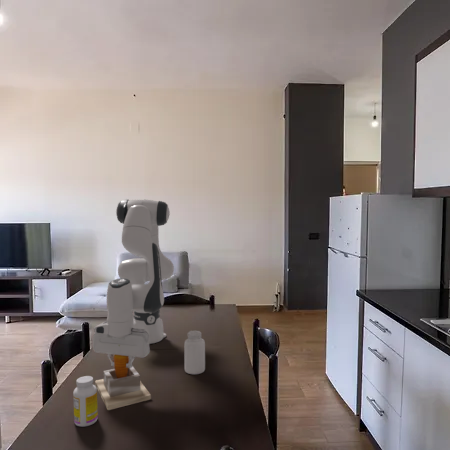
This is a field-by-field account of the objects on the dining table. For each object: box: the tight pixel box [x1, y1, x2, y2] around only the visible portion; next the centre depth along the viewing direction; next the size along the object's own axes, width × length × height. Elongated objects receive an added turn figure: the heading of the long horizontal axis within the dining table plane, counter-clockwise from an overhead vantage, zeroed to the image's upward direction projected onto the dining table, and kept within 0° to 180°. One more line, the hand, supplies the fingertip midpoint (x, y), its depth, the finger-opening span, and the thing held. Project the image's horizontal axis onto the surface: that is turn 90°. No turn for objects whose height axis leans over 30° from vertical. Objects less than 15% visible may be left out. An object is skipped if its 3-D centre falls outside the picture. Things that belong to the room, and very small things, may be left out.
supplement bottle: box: [72, 375, 99, 427], centre depth 116 cm, size 7×7×13 cm
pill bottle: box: [183, 330, 206, 375], centre depth 151 cm, size 8×8×15 cm
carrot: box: [113, 345, 130, 379], centre depth 134 cm, size 5×5×15 cm
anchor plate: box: [94, 365, 152, 411], centre depth 134 cm, size 20×14×6 cm
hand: (121, 366), depth 134 cm, fingers closed on carrot, 4 cm apart
